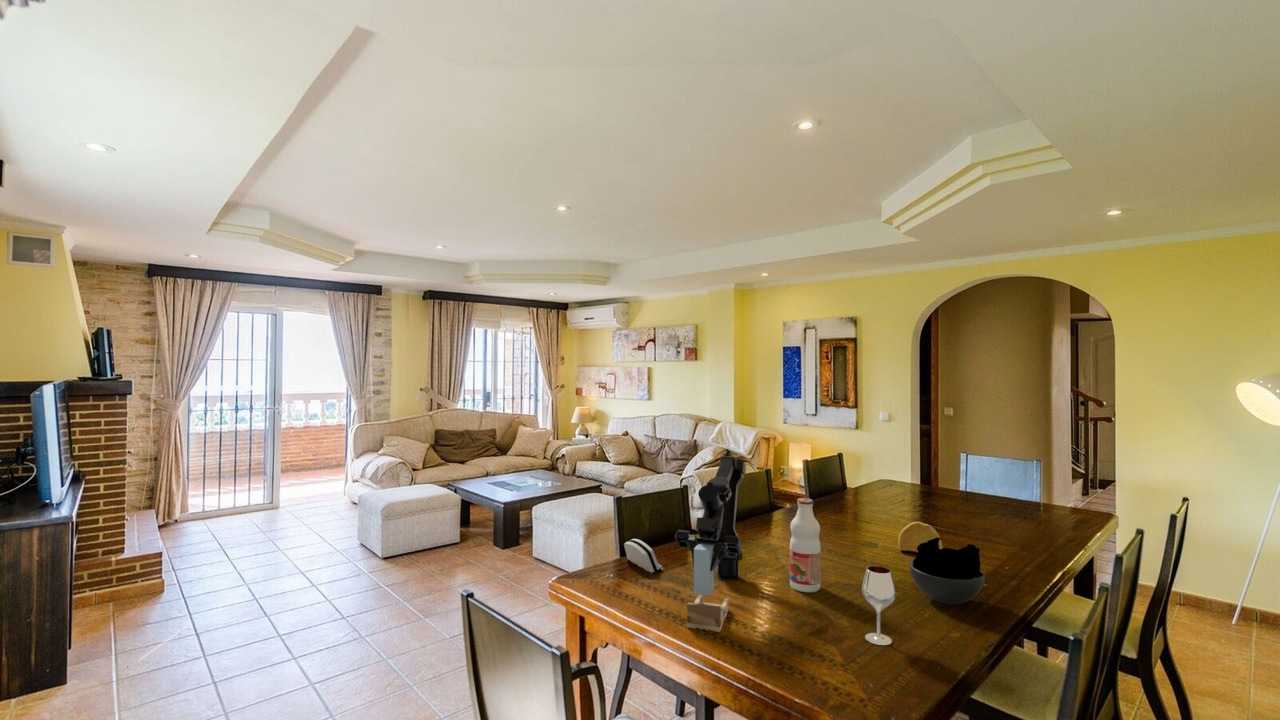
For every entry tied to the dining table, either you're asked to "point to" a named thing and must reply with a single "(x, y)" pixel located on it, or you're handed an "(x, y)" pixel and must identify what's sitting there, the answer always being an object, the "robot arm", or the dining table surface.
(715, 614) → the channel
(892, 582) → the wineglass
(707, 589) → the light blue block
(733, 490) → the robot arm
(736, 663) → the dining table surface
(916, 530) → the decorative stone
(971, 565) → the coal bowl
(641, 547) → the white arched piece
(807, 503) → the fruit juice
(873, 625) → the dining table surface
